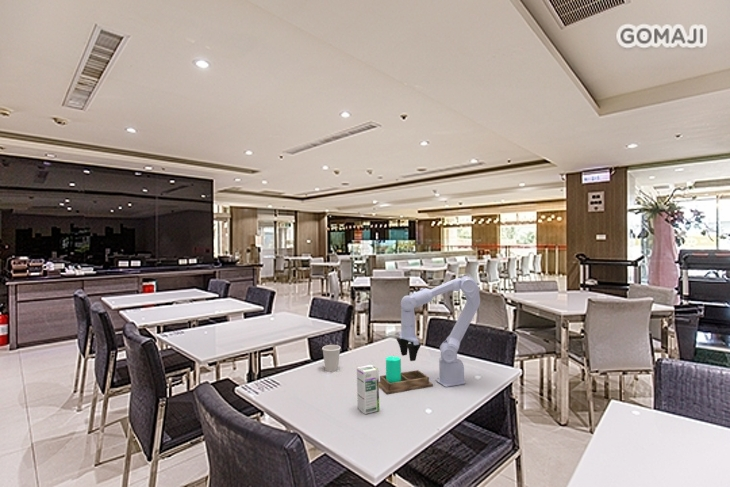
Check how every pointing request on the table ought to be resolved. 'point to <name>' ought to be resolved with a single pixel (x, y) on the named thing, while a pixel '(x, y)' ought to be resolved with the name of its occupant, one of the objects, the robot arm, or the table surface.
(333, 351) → the dixie cup
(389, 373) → the candle
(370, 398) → the syrup box
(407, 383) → the divided wooden tray
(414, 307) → the robot arm
